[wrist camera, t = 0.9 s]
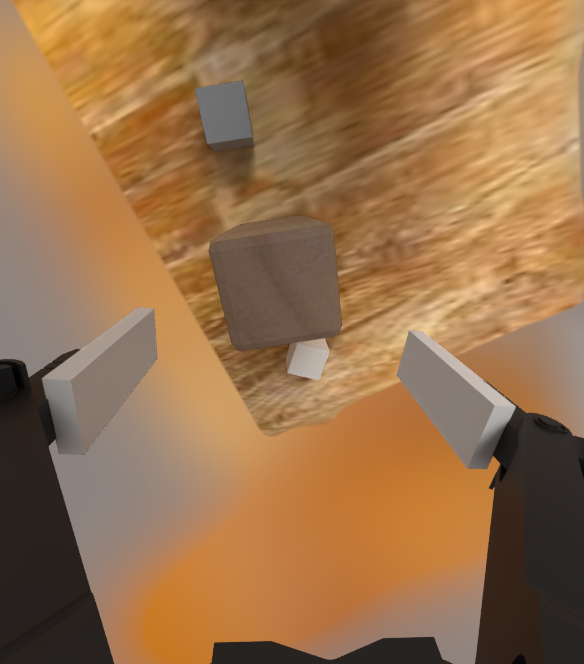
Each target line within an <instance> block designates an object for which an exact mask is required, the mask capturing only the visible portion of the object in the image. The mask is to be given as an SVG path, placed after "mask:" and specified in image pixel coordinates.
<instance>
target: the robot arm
mask: <svg viewBox="0 0 584 664" xmlns="http://www.w3.org/2000/svg"><path fill="white" fill-rule="evenodd" d="M156 360H157V347H156V330H155V313H154V309H151V308H139V307H138V308H136V309H135V310H134V311H132V312H131V313H130V314H128V315H127V316H126V317H124V318H123V319H122V320H120V321H119V322H117V323H116V324H115V325H113V326H112V327H111V328H109V329H108V330H107V331H105V332H104V333H103V334H101V335H100V336H99V337H98V338H96V339H94V340H93V341H92V342H90V343H89V344H88V345H86V346H85V347H84V348H82V349H75V350H73V351H70V352H67V353H65V354H62V355H61V356H59V357H58V358H57V359H55V360H54V361H53V362H52V363H49V364H48V365H47V366H45V367H44V369H41V370H39V371H38V372H36V373H35V374H34V375H32V376H31V377H28V373H27V369H26V365H25V363H23V362H22V361H19V360H15V359H2V360H0V664H114V662H113V658H112V655H111V652H110V648H109V645H108V642H107V638H106V635H105V631H104V628H103V625H102V622H101V618H100V615H99V611H98V608H97V605H96V602H95V599H94V596H93V593H92V592H91V590H90V587H89V583H88V580H87V576H86V573H85V570H84V567H83V563H82V559H81V556H80V553H79V549H78V546H77V542H76V539H75V536H74V532H73V529H72V525H71V522H70V518H69V515H68V512H67V508H66V505H65V501H64V498H63V495H62V492H61V488H60V484H59V481H58V478H57V474H56V471H55V467H54V464H53V461H52V457H51V454H50V450H49V447H48V446H49V445H50V444H51V443H52V442H53V441H54V440H55V439H56V443H57V448H58V452H59V454H81V455H84V454H85V453H86V452H87V451H88V449H89V448H90V447H91V445H92V444H93V443H94V441H95V440H96V439H97V438H98V436H99V435H100V434H101V432H102V431H103V430H104V428H105V427H106V426H107V424H108V423H109V422H110V420H111V419H112V418H113V416H114V415H115V414H116V412H117V411H118V410H119V408H120V407H121V406H122V405H123V403H124V402H125V401H126V399H127V398H128V397H129V395H130V394H131V393H132V391H133V390H134V388H135V387H136V386H137V385H138V384H139V382H140V381H141V379H142V378H143V377H144V376H145V374H146V373H147V372H148V370H149V369H150V368H151V366H152V365H153V364H154V362H155V361H156ZM397 376H398V378H399V379H400V380H401V381H402V383H403V384H404V385H405V387H406V388H407V389H408V391H409V392H410V393H411V395H412V396H413V397H414V399H415V400H416V401H417V403H418V404H419V405H420V407H421V408H422V409H423V410H424V412H425V413H426V414H427V416H428V417H429V418H430V420H431V421H432V422H433V424H434V425H435V426H436V428H437V429H438V430H439V432H440V433H441V434H442V436H444V438H445V440H446V441H447V442H448V444H449V445H450V446H451V448H452V449H453V450H454V451H455V453H456V454H457V455H458V457H459V458H460V459H461V461H462V462H463V463H464V464H465V466H466V467H467V468H471V469H487V468H488V465H489V463H490V461H491V459H492V457H493V456H494V457H495V458H496V459H497V460H498V461H499V463H500V466H499V468H498V470H497V472H496V474H495V476H494V478H493V481H492V483H491V485H490V487H489V488H490V489H493V488H494V487H495V490H494V500H493V509H492V517H491V526H490V535H489V545H488V553H487V563H486V573H485V582H484V590H483V599H482V608H481V617H480V627H479V636H478V645H477V653H476V661H475V664H584V438H581V437H577V436H573V435H572V433H571V432H570V430H569V429H568V428H567V427H565V426H564V425H563V424H561V423H559V422H558V421H556V420H554V419H552V418H549V417H547V416H544V415H540V414H537V413H526V412H524V411H523V410H522V409H521V408H519V407H518V406H517V405H516V404H514V403H513V402H512V401H511V400H509V399H508V398H507V397H504V395H503V394H502V393H500V392H499V391H497V389H496V388H494V387H493V386H492V385H490V384H489V383H488V382H486V381H484V380H482V379H481V378H480V377H479V376H477V375H476V374H475V373H474V372H472V371H471V370H470V369H469V368H467V367H466V366H465V365H464V364H462V363H461V362H460V361H458V360H457V359H456V358H455V357H454V356H452V355H451V354H450V353H449V352H448V351H446V350H445V349H444V348H443V347H441V346H440V345H439V344H438V343H436V342H435V341H434V340H433V339H431V338H430V337H429V336H428V335H426V334H425V333H424V332H422V331H411V330H409V333H408V337H407V340H406V344H405V347H404V351H403V354H402V358H401V362H400V365H399V369H398V372H397ZM211 664H452V663H450V662H447V661H446V660H443V659H442V657H441V655H440V652H439V649H438V647H437V644H436V642H435V639H434V637H414V638H383V639H380V640H378V641H376V642H374V643H371V644H369V645H367V646H364V647H362V648H360V649H357V650H355V651H353V652H351V653H348V654H346V655H344V656H341V657H339V658H337V659H334V660H327V659H323V658H321V657H317V656H314V655H311V654H308V653H305V652H302V651H299V650H296V649H293V648H290V647H287V646H284V645H281V644H278V643H275V642H272V641H261V642H259V641H258V642H221V643H220V642H219V643H214V648H213V656H212V663H211Z"/></svg>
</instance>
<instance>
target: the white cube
mask: <svg viewBox="0 0 584 664" xmlns="http://www.w3.org/2000/svg"><path fill="white" fill-rule="evenodd" d="M329 353H330V351H329V348H328V346H327V343H326V341H325V338H323V339H317V340H310V341H304V342H298V343H291V344H290V346H289V350H288V353H287V356H286V365H287V373H288V374H293V375H297V376H302V377H306V378H311V379H315V380H319V379H320V377H321V374H322V371H323V369H324V366H325V363H326V361H327V358H328V355H329Z"/></svg>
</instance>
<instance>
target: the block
mask: <svg viewBox="0 0 584 664" xmlns="http://www.w3.org/2000/svg"><path fill="white" fill-rule="evenodd" d="M209 254H210V258H211V262H212V266H213V270H214V274H215V278H216V283H217V287H218V291H219V295H220V299H221V303H222V307H223V311H224V315H225V319H226V323H227V327H228V331H229V335H230V339H231V343H232V344H233V345H234V347H235V348H236V350H239V351H247V350H253V349H260V348H266V347H272V346H279V345H285V344H291V343H298V342H304V341H310V340H317V339H323V338H329V337H334V336H336V335H338V334H339V332H340V329H341V326H342V321H341V309H340V297H339V285H338V274H337V262H336V250H335V238H334V231H333V229H332V227H331V225H330V223H328V222H324V221H321V220H317V219H313V218H309V217H305V216H301V215H297V216H291V217H285V218H278V219H272V220H265V221H259V222H252V223H246V224H240V225H238V226H236V227H235V228H233V229H231V230H229V231H227V232H225V233H223V234H222V235H220V236H218V237H216V238H215V239H213V240H212V241H210V247H209Z"/></svg>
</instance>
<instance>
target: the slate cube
mask: <svg viewBox="0 0 584 664" xmlns="http://www.w3.org/2000/svg"><path fill="white" fill-rule="evenodd" d="M195 91H196V96H197V101H198V105H199V110H200V114H201V119H202V123H203V128H204V132H205V137H206V141H207V144H208V145H209V146H210V147H211V148H212V149H213V150H214V151H215V152H217V151H224V150H230V149H236V148H242V147H249V146H255V145H254V139H253V133H252V127H251V121H250V116H249V110H248V104H247V98H246V93H245V89H244V84H243V81H237V82H231V83H225V84H218V85H212V86H206V87H200V88H195Z"/></svg>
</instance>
